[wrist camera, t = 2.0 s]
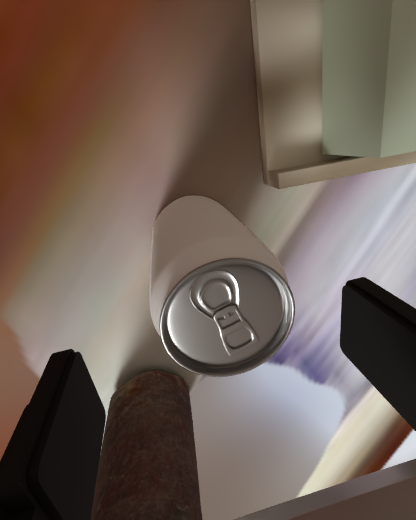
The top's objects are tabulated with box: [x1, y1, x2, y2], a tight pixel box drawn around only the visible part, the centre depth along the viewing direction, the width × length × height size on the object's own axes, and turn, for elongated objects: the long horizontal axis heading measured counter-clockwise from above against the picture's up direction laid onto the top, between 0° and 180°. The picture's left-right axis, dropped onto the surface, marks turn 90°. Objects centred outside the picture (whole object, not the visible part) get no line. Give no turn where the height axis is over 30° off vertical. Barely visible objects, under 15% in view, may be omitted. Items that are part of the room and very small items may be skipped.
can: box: [149, 195, 295, 377], centre depth 17 cm, size 6×6×12 cm
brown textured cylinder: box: [91, 370, 202, 520], centre depth 19 cm, size 8×7×20 cm
